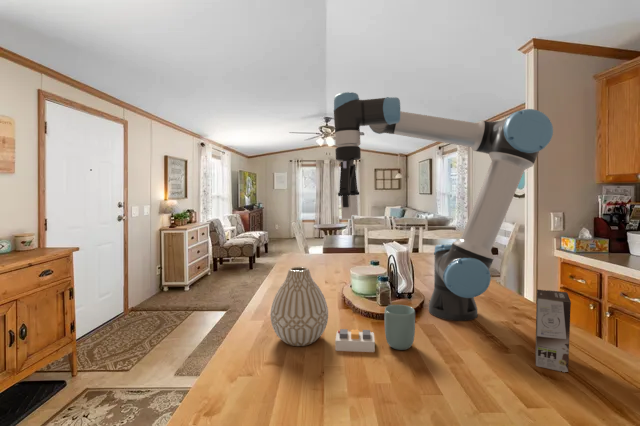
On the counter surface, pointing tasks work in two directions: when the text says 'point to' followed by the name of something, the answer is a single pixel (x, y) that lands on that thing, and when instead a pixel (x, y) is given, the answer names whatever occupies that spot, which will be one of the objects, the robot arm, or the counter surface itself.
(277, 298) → the vase
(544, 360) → the coffee box
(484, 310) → the counter surface
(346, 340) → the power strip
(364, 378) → the counter surface
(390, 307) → the cup
